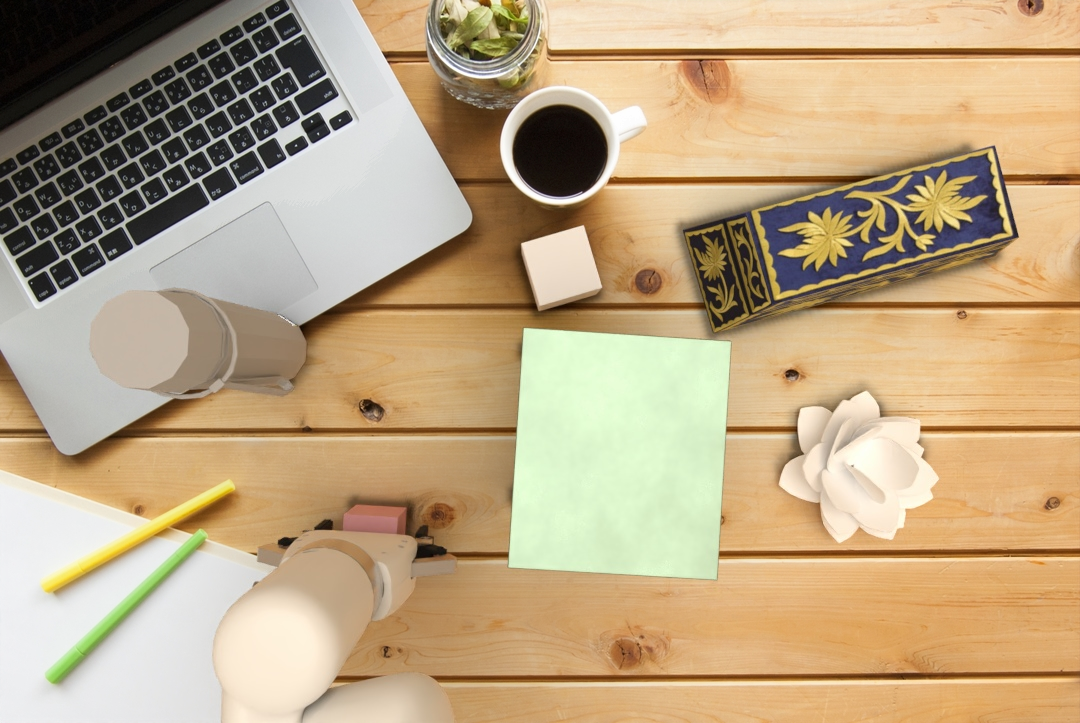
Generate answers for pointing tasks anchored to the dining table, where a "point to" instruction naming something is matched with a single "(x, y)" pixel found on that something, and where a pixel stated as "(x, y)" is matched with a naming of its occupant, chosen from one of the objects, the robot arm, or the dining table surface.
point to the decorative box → (852, 239)
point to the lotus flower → (859, 467)
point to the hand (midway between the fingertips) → (376, 538)
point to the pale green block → (619, 454)
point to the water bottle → (194, 345)
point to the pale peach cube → (561, 268)
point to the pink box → (375, 519)
